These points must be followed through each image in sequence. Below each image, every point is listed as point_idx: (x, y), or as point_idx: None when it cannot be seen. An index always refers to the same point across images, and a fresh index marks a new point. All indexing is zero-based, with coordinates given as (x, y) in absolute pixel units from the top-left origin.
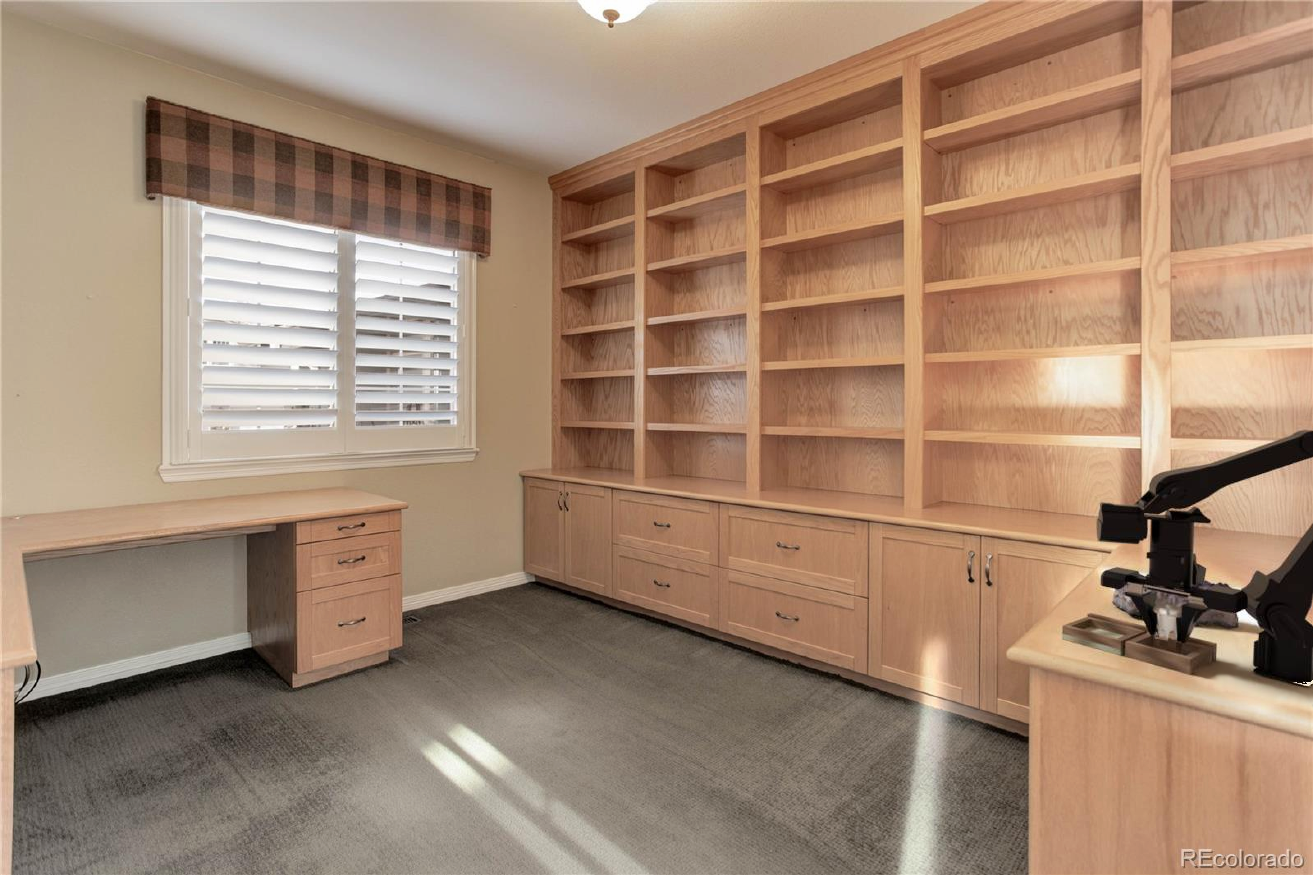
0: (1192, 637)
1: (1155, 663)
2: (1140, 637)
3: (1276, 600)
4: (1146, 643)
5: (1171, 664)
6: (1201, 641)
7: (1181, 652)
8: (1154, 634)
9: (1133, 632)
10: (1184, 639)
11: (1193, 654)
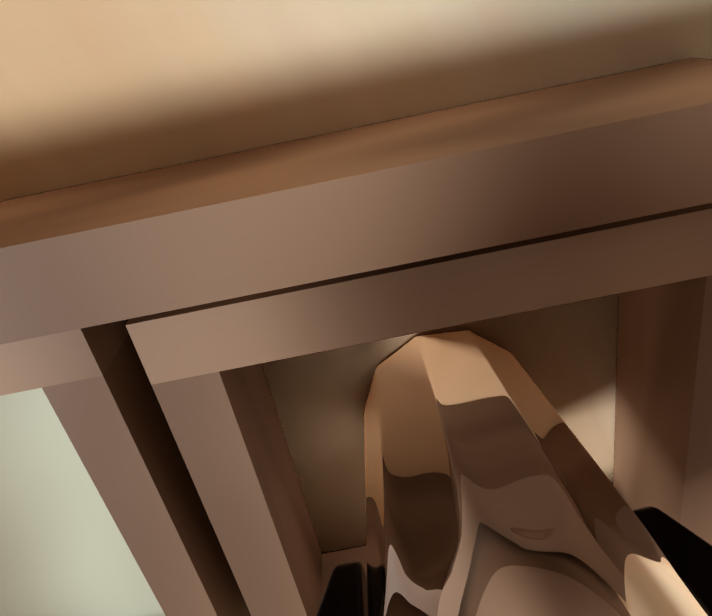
0: (563, 139)
1: None
2: (246, 542)
3: None
4: (267, 450)
5: None
6: (694, 201)
7: (538, 389)
8: (364, 574)
9: (102, 481)
10: None
11: (707, 530)
